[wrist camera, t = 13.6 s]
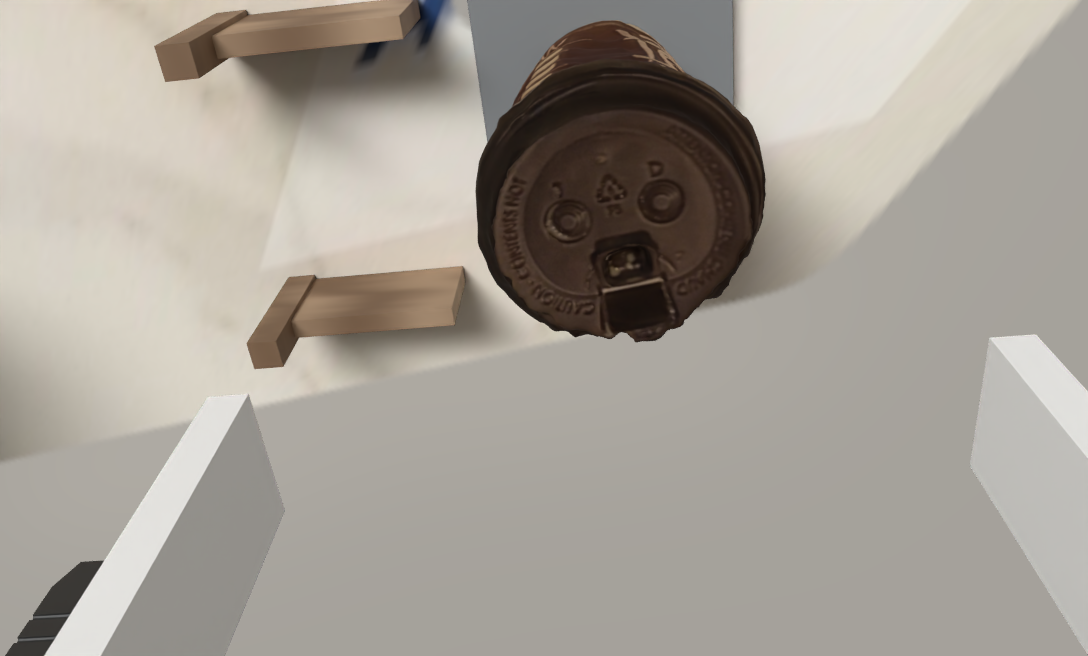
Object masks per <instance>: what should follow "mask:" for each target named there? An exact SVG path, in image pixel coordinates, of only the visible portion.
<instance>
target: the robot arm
mask: <svg viewBox="0 0 1088 656" xmlns="http://www.w3.org/2000/svg"><path fill="white" fill-rule="evenodd" d="M970 466H971V468H972V470H973V471H974V473H975V475H976V476H977V478H978V479H979V481H980V483H981V484H982V486H983V487H984V489H985V491H986V492H987V494H988V496H989V497H990V499H991V500H992V502H993V504H994V505H995V507H996V508H997V510H998V512H999V513H1000V515H1001V517H1002V518H1003V520H1004V521H1005V523H1006V525H1007V526H1008V528H1009V529H1010V531H1011V533H1012V534H1013V536H1014V537H1015V539H1016V541H1017V542H1018V544H1019V545H1020V547H1021V549H1022V550H1023V552H1024V553H1025V555H1026V557H1027V558H1028V560H1029V562H1030V563H1031V565H1032V566H1033V568H1034V569H1035V571H1036V573H1037V574H1038V576H1039V578H1040V579H1041V581H1042V582H1043V584H1044V586H1045V587H1046V589H1047V590H1048V592H1049V594H1050V595H1051V597H1052V598H1053V600H1054V602H1055V603H1056V605H1057V607H1058V608H1059V610H1060V611H1061V613H1062V614H1063V616H1064V618H1065V619H1066V621H1067V623H1068V624H1069V626H1070V627H1071V629H1072V631H1073V632H1074V634H1075V635H1076V637H1077V639H1078V640H1079V642H1080V643H1081V645H1082V647H1083V648H1084V650H1085V652H1086V653H1087V655H1088V391H1087V390H1086V389H1085V388H1084V387H1083V386H1082V385H1081V384H1080V383H1079V381H1078V380H1077V379H1076V378H1075V377H1074V376H1073V375H1072V374H1071V373H1070V372H1069V371H1068V369H1067V368H1066V367H1065V366H1064V365H1063V364H1062V363H1061V362H1060V361H1059V360H1058V358H1057V357H1056V356H1055V355H1054V354H1053V353H1052V352H1051V351H1050V350H1049V349H1048V348H1047V346H1046V345H1045V344H1044V343H1043V342H1042V341H1041V340H1040V339H1039V338H1038V336H1037V335H1036V334H1035V335H1021V336H1008V337H995V338H989V345H988V352H987V359H986V365H985V371H984V377H983V384H982V390H981V397H980V403H979V410H978V416H977V423H976V429H975V436H974V442H973V449H972V455H971V462H970ZM284 512H285V510H284V506H283V503H282V500H281V496H280V493H279V490H278V487H277V484H276V480H275V477H274V474H273V471H272V468H271V465H270V461H269V458H268V455H267V452H266V449H265V445H264V442H263V439H262V436H261V432H260V429H259V426H258V423H257V420H256V417H255V413H254V410H253V407H252V404H251V400H250V397H249V394H239V395H226V396H213V397H207V399H206V401H205V402H204V404H203V405H202V407H201V408H200V410H199V412H198V413H197V415H196V416H195V418H194V420H193V421H192V423H191V424H190V426H189V427H188V429H187V431H186V432H185V434H184V435H183V437H182V439H181V440H180V442H179V443H178V445H177V447H176V448H175V450H174V451H173V453H172V455H171V456H170V458H169V459H168V461H167V462H166V464H165V466H164V467H163V469H162V470H161V472H160V473H159V475H158V477H157V478H156V480H155V481H154V483H153V484H152V486H151V488H150V489H149V491H148V492H147V494H146V496H145V497H144V499H143V500H142V502H141V504H140V505H139V507H138V508H137V510H136V511H135V513H134V515H133V516H132V518H131V519H130V521H129V522H128V524H127V526H126V527H125V529H124V530H123V532H122V534H121V535H120V537H119V538H118V540H117V541H116V543H115V545H114V546H113V548H112V549H111V551H110V552H109V554H108V556H107V557H106V559H105V560H104V561H89V562H80V563H79V564H78V565H77V566H76V567H75V568H74V569H72V570H71V571H70V572H69V573H68V574H67V575H65V576H64V577H63V578H62V579H61V580H60V581H58V582H57V583H56V584H55V585H54V586H53V587H52V588H51V589H50V591H49V592H48V594H47V595H46V596H45V598H44V599H43V601H42V602H41V604H40V605H39V607H38V608H37V610H36V612H35V613H34V614H33V620H29V622H28V623H27V625H26V626H25V628H24V629H23V630H22V632H21V633H20V635H19V636H18V642H17V643H14V644H13V645H12V647H11V648H10V650H9V651H8V653H7V654H6V655H5V656H225V654H226V651H227V649H228V646H229V644H230V642H231V639H232V637H233V635H234V632H235V630H236V627H237V625H238V623H239V620H240V618H241V615H242V613H243V611H244V608H245V606H246V603H247V601H248V599H249V596H250V594H251V591H252V589H253V586H254V584H255V582H256V579H257V577H258V574H259V572H260V569H261V567H262V564H263V562H264V560H265V558H266V555H267V553H268V550H269V548H270V545H271V543H272V541H273V538H274V536H275V533H276V531H277V529H278V526H279V524H280V521H281V519H282V517H283V514H284Z"/></svg>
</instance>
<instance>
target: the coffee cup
mask: <svg viewBox="0 0 1088 656" xmlns="http://www.w3.org/2000/svg"><path fill="white" fill-rule="evenodd" d="M765 180H766V179H765V172H764V166H763V161H762V156H761V151H760V145H759V142H758V139H757V136H756V134H755V131H754V129H753V126H752V125H751V123H750V122H749V120H748V119H747V118H746V117H745V116H743V115H742V114H741V113H740V112H739V111H738V110H737V109H736V108H735V107H734V106H733V105H732V104H731V103H730V101H729V100H728V99H727V98H726V97H724V96H723V95H722V94H721V93H720V92H718V91H717V90H716V89H714V88H713V87H711V86H710V85H708V84H706V83H705V82H704V81H701V80H699V79H696V78H694V77H692V76H691V75H689V74H687V73H686V72H684V71H683V69H682V68H681V67H680V66H679V65H678V64H677V63H676V61H675V59H674V58H673V57H672V56H671V55H670V54H669V53H668V52H667V51H666V50H665V48H664V47H663V46H662V45H661V44H660V43H659V42H658V41H656V40H655V39H654V38H653V37H652V36H651V35H649V34H647V33H646V32H644V31H643V30H641V29H640V28H639V27H637V26H635V25H632V24H625V23H624V22H622V21H619V20H608V21H598V22H594V23H590V24H587V25H584V26H582V27H579V28H577V29H575V30H573V31H571V32H569V33H567V34H566V35H564V36H563V37H562V38H560V39H559V40H557V41H556V42H555V43H554V44H553V45H552V46H550V47H549V49H548V50H547V51H546V52H545V54H544V55H543V56H542V58H541V59H540V60H539V62H538V63H537V64H536V66H535V67H534V69H533V71H532V72H531V73H530V75H529V76H528V78H527V79H526V81H525V82H524V84H523V86H522V88H521V89H520V91H519V93H518V95H517V97H516V98H515V100H514V103H513V105H512V107H511V108H510V109H509V110H508V111H507V112H506V113H505V114H504V115H502V116H501V117H500V118H499V120H498V123H497V128H496V129H495V131H494V133H493V134H492V136H491V137H490V139H489V141H488V143H487V145H486V147H485V149H484V151H483V153H482V156H481V158H480V161H479V166H478V173H477V180H476V205H477V221H478V244H479V247H480V250H481V251H482V253H483V256H484V258H485V260H486V262H487V265H488V268H489V271H490V273H491V275H492V276H493V278H494V280H495V281H496V283H497V285H498V286H499V287H500V288H501V289H502V290H504V291H505V292H506V294H507V295H508V296H509V298H510V299H512V300H513V301H514V302H515V303H516V304H517V305H518V306H519V307H520V308H521V309H523V310H524V311H525V312H526V313H527V314H529V315H530V316H531V317H533V318H534V319H536V320H537V321H539V322H542V323H545V324H546V325H547V326H549V328H551V329H552V330H554V331H567V332H569V333H570V334H571V335H573V336H574V337H578V336H582V335H585V334H590V335H594V336H597V337H598V336H600V337H604V338H607V339H612V338H613V337H615V336H616V335H617V334H618V333H620V332H624V333H627V334H628V335H629V336H630V337H632V338H633V339H634V341H635V342H640V341H655V340H657V339H659V338H661V337H662V336H663V335H664V334H665V332H666V331H667V330H670V329H675V328H678V327H680V326H682V325H683V323H684V320H685V319H687V318H688V317H689V316H690V315H691V314H692V312H693V311H694V310H695V309H696V308H698V307H699V306H700V304H701V303H702V302H703V301H704V300H706V299H712V298H717V297H719V296H720V295H721V294H722V292H723V290H724V289H725V288H726V287H727V286H728V285H729V282H730V280H731V277H732V276H733V275H734V274H735V273H736V271H737V269H738V267H739V266H740V264H741V263H742V261H743V259H744V258H746V257H747V256H748V255H749V253H750V250H751V247H752V245H753V242H754V238H755V236H756V234H757V232H758V231H759V228H760V226H761V223H762V219H763V209H764V200H765V195H766V194H765Z"/></svg>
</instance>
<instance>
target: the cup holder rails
mask: <svg viewBox="0 0 1088 656" xmlns="http://www.w3.org/2000/svg"><path fill="white" fill-rule="evenodd" d="M420 18H421V17H420V11H419V5H418V0H380V1H371V2H362V3H353V4H344V5H335V6H326V7H317V8H308V9H299V10H290V11H281V12H272V13H263V14H254V15H247V12H246V10H241V11H232V12H223V13H216V14H214V15H212V16H210V17H209V18H207V19H205V20H203V21H201V22H199V23H197V24H195V25H193V26H192V27H190V28H188V29H186V30H184V31H182V32H180V33H178V34H176V35H174V36H173V37H171V38H169V39H167V40H165V41H163V42H161V43H159V44H157V45H156V46H154V47H155V50H156V53H157V57H158V60H159V63H160V66H161V69H162V73H163V76H164V79H165V82H169V81H178V80H188V79H197V78H200V77H202V76H203V75H205V74H206V73H208V72H209V71H211V70H212V69H214V68H215V67H217V66H218V65H220V64H221V63H222V62H224V61H225V60H227V59H228V58H232V57H241V56H250V55H260V54H269V53H278V52H287V51H297V50H306V49H315V48H325V47H334V46H343V45H353V44H362V43H371V42H381V41H390V40H399V39H404V38H405V36H406V35H407V34H408V33H409V31H410V30H411V29H412V28H413V26H414V25H415V24H416V23H417V21H418V20H419V19H420ZM464 286H465V278H464V272H463V266H461V267H450V268H438V269H426V270H415V271H403V272H391V273H380V274H368V275H356V276H345V277H333V278H321V279H315V275H309V276H298V277H289V278H288V279H287V281H286V282H285V284H284V286H283V287H282V289H281V290H280V292H279V293H278V295H277V297H276V298H275V300H274V301H273V303H272V304H271V306H270V307H269V309H268V311H267V312H266V314H265V315H264V317H263V318H262V320H261V322H260V323H259V325H258V326H257V328H256V329H255V331H254V333H253V334H252V336H251V337H250V339H249V340H248V342H247V346H248V350H249V353H250V356H251V359H252V363H253V366H254V369H261V368H274V367H283V366H284V365H285V363H286V361H287V359H288V357H289V355H290V353H291V352H292V350H293V348H294V346H295V344H296V342H297V341H298V339H299V338H300V337H312V336H325V335H337V334H349V333H362V332H374V331H387V330H399V329H412V328H424V327H437V326H449V325H455V322H456V318H457V314H458V310H459V306H460V302H461V298H462V294H463V290H464Z"/></svg>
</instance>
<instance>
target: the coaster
mask: <svg viewBox="0 0 1088 656" xmlns="http://www.w3.org/2000/svg"><path fill="white" fill-rule="evenodd" d="M467 3H468V10H469V16H470V23H471V30H472V37H473V44H474V51H475V58H476V65H477V72H478V79H479V86H480V93H481V100H482V107H483V114H484V121H485V128H486V135H487V142H488V141H489V139H490V137H491V136H492V134H493V133H494V131H495V129H496V128H497V123H498V120H499V118H500V117H501V116H502V115H504V114H505V113H506V112H507V111H508V110H509V109H510V108H511V107H512V105H513V103H514V100H515V98H516V97H517V95H518V93H519V91H520V89H521V88H522V86H523V84H524V82H525V81H526V79H527V78H528V76H529V75H530V73H531V72H532V71H533V69H534V67H535V66H536V64H537V63H538V62H539V60H540V59H541V58H542V56H543V55H544V54H545V52H546V51H547V50H548V49H549V47H550V46H552V45H553V44H554V43H555V42H556V41H557V40H559V39H560V38H562V37H563V36H564V35H566V34H567V33H569V32H571V31H573V30H575V29H577V28H579V27H582V26H584V25H587V24H590V23H594V22H598V21H608V20H619V21H622V22H624V23H625V24H632V25H635V26H637V27H639V28H640V29H641V30H643V31H644V32H646V33H647V34H649V35H651V36H652V37H653V38H654V39H655V40H656V41H658V42H659V43H660V44H661V45H662V46H663V47H664V48H665V50H666V51H667V52H668V53H669V54H670V55H671V56H672V57H673V58H674V59H675V61H676V63H677V64H678V65H679V66H680V67H681V68H682V69H683V71H684V72H686V73H687V74H689V75H691V76H692V77H694V78H696V79H699V80H701V81H704V82H705V83H706V84H708V85H710V86H711V87H713V88H714V89H716V90H717V91H718V92H720V93H721V94H722V95H723V96H724V97H726V98H727V99H728V100H729V101H730V103H731V104H732V105H733V8H732V0H467Z"/></svg>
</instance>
